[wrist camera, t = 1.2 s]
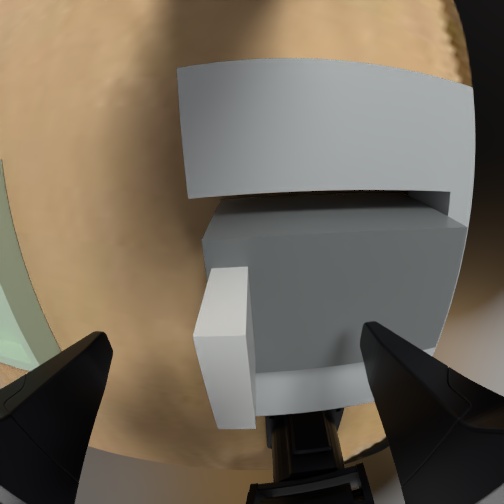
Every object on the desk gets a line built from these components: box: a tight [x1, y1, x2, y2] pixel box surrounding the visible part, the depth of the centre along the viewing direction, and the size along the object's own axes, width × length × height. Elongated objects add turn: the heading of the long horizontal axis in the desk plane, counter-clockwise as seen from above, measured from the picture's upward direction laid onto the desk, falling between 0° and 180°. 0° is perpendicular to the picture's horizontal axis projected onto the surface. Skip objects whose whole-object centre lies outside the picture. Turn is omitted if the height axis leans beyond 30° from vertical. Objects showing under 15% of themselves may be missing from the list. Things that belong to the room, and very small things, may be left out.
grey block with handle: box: [193, 193, 468, 429], centre depth 11 cm, size 6×10×10 cm, turn 94°
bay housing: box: [177, 58, 475, 416], centre depth 14 cm, size 18×12×4 cm
